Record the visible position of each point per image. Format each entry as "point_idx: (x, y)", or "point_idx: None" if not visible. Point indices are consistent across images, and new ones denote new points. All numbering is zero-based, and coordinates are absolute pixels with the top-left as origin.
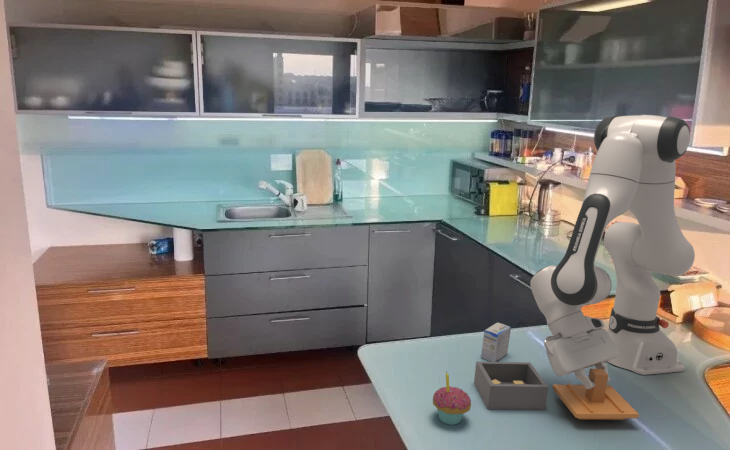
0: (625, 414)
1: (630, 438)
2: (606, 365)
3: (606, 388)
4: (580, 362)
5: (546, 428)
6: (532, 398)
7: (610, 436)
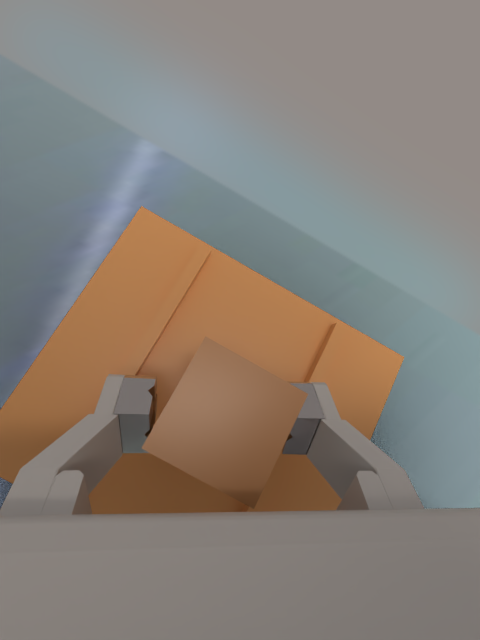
0: (200, 240)
1: (230, 219)
2: (21, 474)
3: (33, 442)
4: (463, 568)
5: (455, 414)
6: None
7: (285, 264)
